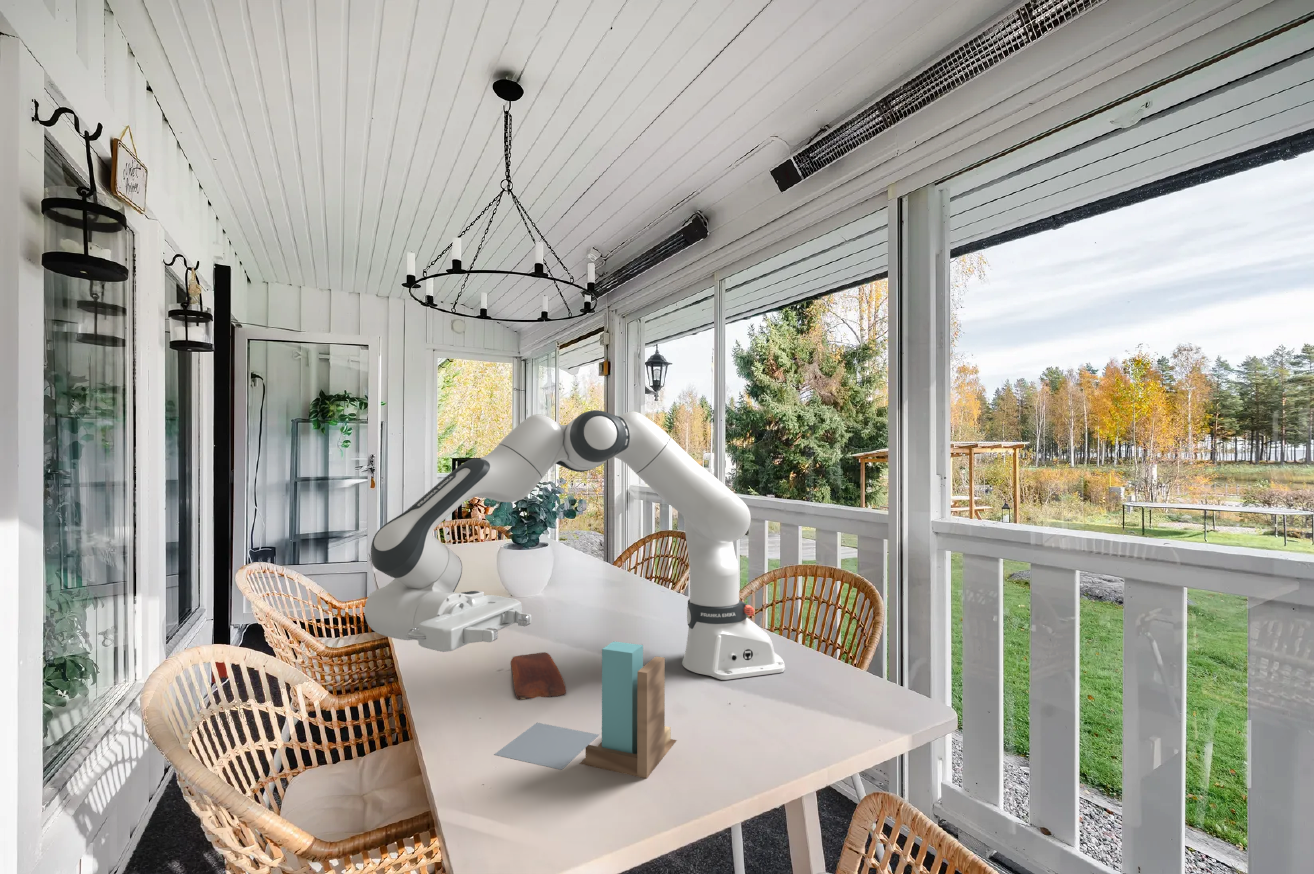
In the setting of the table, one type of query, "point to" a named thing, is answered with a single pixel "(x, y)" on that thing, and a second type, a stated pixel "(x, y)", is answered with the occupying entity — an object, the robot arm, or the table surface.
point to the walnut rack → (640, 728)
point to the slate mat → (547, 745)
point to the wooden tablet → (536, 676)
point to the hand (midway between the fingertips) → (512, 627)
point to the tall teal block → (620, 695)
